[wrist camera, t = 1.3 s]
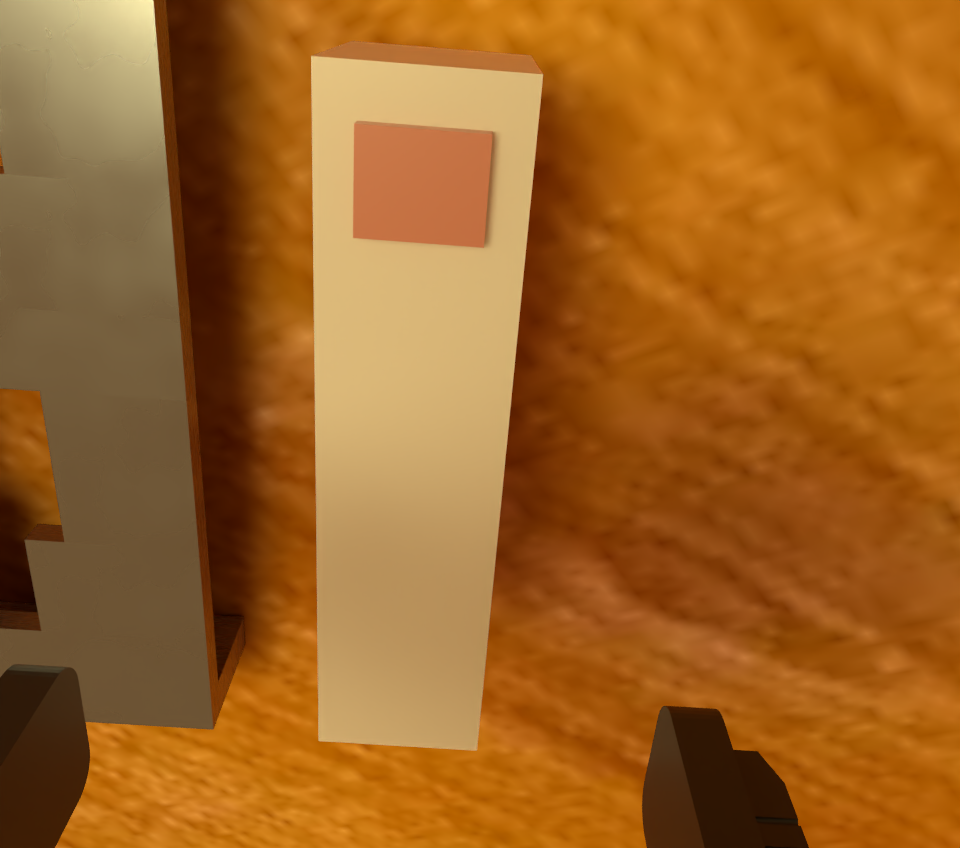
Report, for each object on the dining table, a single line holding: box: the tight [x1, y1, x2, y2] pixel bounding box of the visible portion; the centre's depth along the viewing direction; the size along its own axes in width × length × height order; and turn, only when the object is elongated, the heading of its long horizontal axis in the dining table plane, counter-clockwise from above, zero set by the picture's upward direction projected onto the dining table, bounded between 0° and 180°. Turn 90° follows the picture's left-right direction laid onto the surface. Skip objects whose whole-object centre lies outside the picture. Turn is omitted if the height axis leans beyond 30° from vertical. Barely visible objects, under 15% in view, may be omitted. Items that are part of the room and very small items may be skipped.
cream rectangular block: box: [311, 41, 543, 751], centre depth 22 cm, size 16×4×8 cm, turn 176°
